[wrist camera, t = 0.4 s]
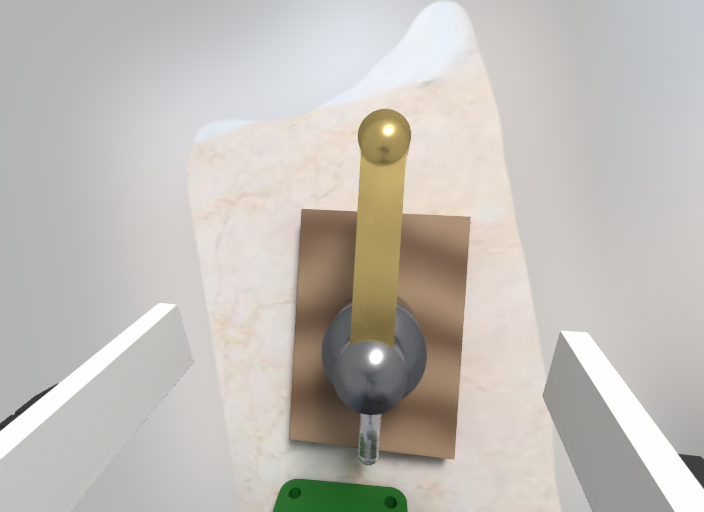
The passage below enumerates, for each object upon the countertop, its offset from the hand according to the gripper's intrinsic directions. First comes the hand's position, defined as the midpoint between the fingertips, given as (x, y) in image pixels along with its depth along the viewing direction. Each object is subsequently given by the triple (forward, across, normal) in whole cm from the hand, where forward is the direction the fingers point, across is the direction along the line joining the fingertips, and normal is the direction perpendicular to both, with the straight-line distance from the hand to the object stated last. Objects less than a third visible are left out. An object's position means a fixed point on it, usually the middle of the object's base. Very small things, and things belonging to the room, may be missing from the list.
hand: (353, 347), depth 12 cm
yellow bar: (+11, 0, +2) cm, 11 cm away
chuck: (+13, +1, +13) cm, 18 cm away
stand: (+16, +1, +11) cm, 19 cm away
